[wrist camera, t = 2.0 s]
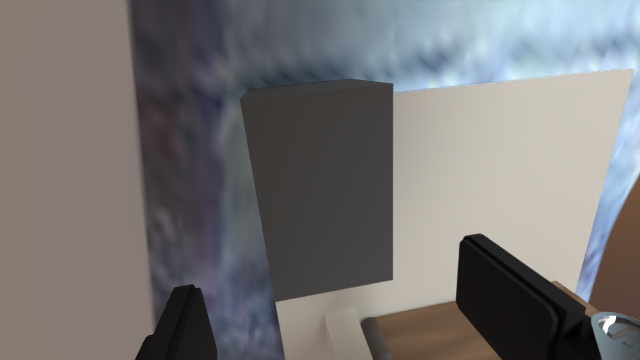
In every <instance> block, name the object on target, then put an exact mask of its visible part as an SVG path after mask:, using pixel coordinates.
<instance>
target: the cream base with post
mask: <svg viewBox="0 0 640 360" xmlns="http://www.w3.org/2000/svg"><path fill="white" fill-rule="evenodd" d="M633 72H634V69H611V70H601V71H592V72H582V73H573V74H564V75H554V76H545V77H535V78H526V79H517V80H507V81H498V82H489V83H479V84H470V85H460V86H451V87H442V88H432V89H423V90H414V91H404V92H395V93H393V280H390V281H385V282H380V283H374V284H369V285H364V286H358V287H353V288H348V289H342V290H337V291H332V292H327V293H321V294H316V295H311V296H305V297H300V298H295V299H289V300H284V301H279V302H275V303H276V309H277V314H278V320H279V326H280V332H281V337H282V343H283V349H284V355H285V360H373V358H372V355H371V353H370V350H369V347H368V345H367V342H366V339H365V336H364V334H363V331H362V328H361V326H360V325H361V323H362V322H363V321H364V320H365V319H367V318H369V317H380V316H384V315H389V314H394V313H399V312H404V311H409V310H414V309H419V308H424V307H429V306H434V305H439V304H444V303H448V302H453V301H456V286H457V271H458V257H459V244H460V241H462V240H463V238H464V236H467V235H472V234H478V233H481V234H483V235H485V236H486V237H488V238H489V239H490V240H492V241H493V242H495V243H496V244H497V245H499V246H500V247H502V248H503V249H505V250H506V251H507V252H509V253H510V254H512V255H513V256H514V257H516V258H517V259H519V260H520V261H521V262H523V263H524V264H526V265H527V266H529V267H530V268H531V269H533V270H534V271H536V272H537V273H538V274H540V275H541V276H543V277H544V278H545V279H547V280H548V281H550V282H552V281H558V282H559V283H561V284H562V285H563V286H565V287H566V288H568V289H569V290H570V291H572V292H573V293H575V290H576V286H577V282H578V278H579V275H580V271H581V267H582V263H583V260H584V256H585V252H586V248H587V245H588V241H589V237H590V233H591V230H592V226H593V222H594V218H595V215H596V211H597V207H598V203H599V200H600V196H601V192H602V188H603V185H604V181H605V177H606V173H607V170H608V166H609V162H610V158H611V155H612V151H613V147H614V143H615V140H616V136H617V132H618V128H619V125H620V121H621V117H622V113H623V110H624V106H625V102H626V98H627V95H628V91H629V87H630V83H631V80H632V76H633ZM244 125H245V124H244ZM245 131H246V130H245ZM248 148H249V147H248ZM249 154H250V153H249ZM252 171H253V170H252ZM256 194H257V193H256ZM260 217H261V216H260ZM263 234H264V233H263ZM264 240H265V239H264ZM267 257H268V256H267ZM268 263H269V262H268ZM271 280H272V279H271ZM272 286H273V285H272Z"/></svg>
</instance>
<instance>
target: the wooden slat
mask: <svg viewBox="0 0 640 360" xmlns="http://www.w3.org/2000/svg"><path fill="white" fill-rule="evenodd" d="M551 283H553V284H554V285H555V286H557V287H558V288H560V289H561V290H562V291H564V292H565V293H567V294H568V295H570V296H571V297H572V298H574V299H575V300H577V301H578V302H579V303H581V304H582V305H584V306H585V307H586V311H585V314H586V315H588V316H589V317H590V318H592V317H593V315H594V314H597V313H600V312H599V311H598V310H596V309H595V308H594V307H592V306H591V305H590V304H588V303H587V302H585V301H584V300H583V299H581V298H580V297H579V296H577V295H576V294H574V293H573V292H572V291H570V290H569V289H568V288H566V287H565V286H563V285H562V284H561V283H559V282H558V281H552V282H551ZM360 326H361V328H362V331H363V334H364V336H365V339H366V342H367V345H368V347H369V350H370V353H371V355H372V358H373V360H502V359H501V358H500V357H499V356H498V355H497V353H496V352H495V351H494V350H493V349H492V348H491V346H490V345H489V344H488V343H487V342H486V340H485V339H484V338H483V337H482V336H481V335H480V333H479V332H478V331H477V330H476V329H475V327H474V326H473V325H472V324H471V323H470V322H469V320H468V319H467V318H466V317H465V316H464V314H463V313H462V312H461V311H460V310H459V308H458V306H457V304H456V301H453V302H448V303H444V304H439V305H434V306H429V307H424V308H419V309H414V310H409V311H404V312H399V313H394V314H389V315H384V316H380V317H369V318H367V319H365V320H364V321H363V322H362V323H361V325H360Z"/></svg>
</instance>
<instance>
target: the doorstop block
mask: <svg viewBox="0 0 640 360" xmlns="http://www.w3.org/2000/svg"><path fill="white" fill-rule="evenodd" d="M240 101H241V107H242V113H243V119H244V124H245V130H246V136H247V142H248V147H249V153H250V159H251V165H252V170H253V176H254V182H255V188H256V193H257V199H258V205H259V211H260V216H261V222H262V228H263V233H264V239H265V245H266V251H267V256H268V262H269V268H270V274H271V279H272V285H273V291H274V297H275V302H279V301H284V300H289V299H295V298H300V297H305V296H311V295H316V294H321V293H327V292H332V291H337V290H342V289H348V288H353V287H358V286H364V285H369V284H374V283H380V282H385V281H390V280H393V84H392V83H383V82H374V81H365V80H356V79H344V80H333V81H323V82H313V83H303V84H293V85H283V86H273V87H262V88H252V89H248V91H247V92H246V93H245V94H244V95H243V97H242V98H241V99H240Z"/></svg>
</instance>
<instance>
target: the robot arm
mask: <svg viewBox="0 0 640 360" xmlns="http://www.w3.org/2000/svg"><path fill="white" fill-rule="evenodd" d="M456 304H457V306H458V308H459V310H460V311H461V312H462V313H463V314H464V316H465V317H466V318H467V319H468V320H469V322H470V323H471V324H472V325H473V326H474V327H475V329H476V330H477V331H478V332H479V333H480V335H481V336H482V337H483V338H484V339H485V340H486V342H487V343H488V344H489V345H490V346H491V348H492V349H493V350H494V351H495V352H496V353H497V355H498V356H499V357H500V358H501V359H502V360H640V321H638V320H636V319H633V318H631V317H628V316H625V315H622V314H618V313H612V312H600V313H597V314H594V315H593V317H592V318H590V317H589V316H588V315H586V314H585V311H586V307H585V306H584V305H582V304H581V303H579V302H578V301H577V300H575V299H574V298H572V297H571V296H570V295H568V294H567V293H565V292H564V291H562V290H561V289H560V288H558V287H557V286H555V285H554V284H553V283H551V282H550V281H548V280H547V279H545V278H544V277H543V276H541V275H540V274H538V273H537V272H536V271H534V270H533V269H531V268H530V267H529V266H527V265H526V264H524V263H523V262H521V261H520V260H519V259H517V258H516V257H514V256H513V255H512V254H510V253H509V252H507V251H506V250H505V249H503V248H502V247H500V246H499V245H497V244H496V243H495V242H493V241H492V240H490V239H489V238H488V237H486V236H485V235H483V234H481V233H478V234H472V235H467V236H464V238H463V240H462V241H460V244H459V257H458V271H457V286H456ZM135 360H217V348H216V344H215V340H214V336H213V333H212V329H211V325H210V321H209V318H208V314H207V310H206V306H205V302H204V299H203V295H202V291H201V289H200V288H195V286H194V285H193V284H191V285H186V286H180V287H175V288H174V289H173V291H172V293H171V295H170V298H169V300H168V302H167V304H166V307H165V309H164V311H163V313H162V316H161V318H160V320H159V323H158V325H157V327H156V329H155V332H154V334H153V335H149V336H147V337H146V339H145V340H144V342H143V344H142V346H141V348H140V350H139V352H138V354H137V356H136V359H135Z"/></svg>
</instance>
